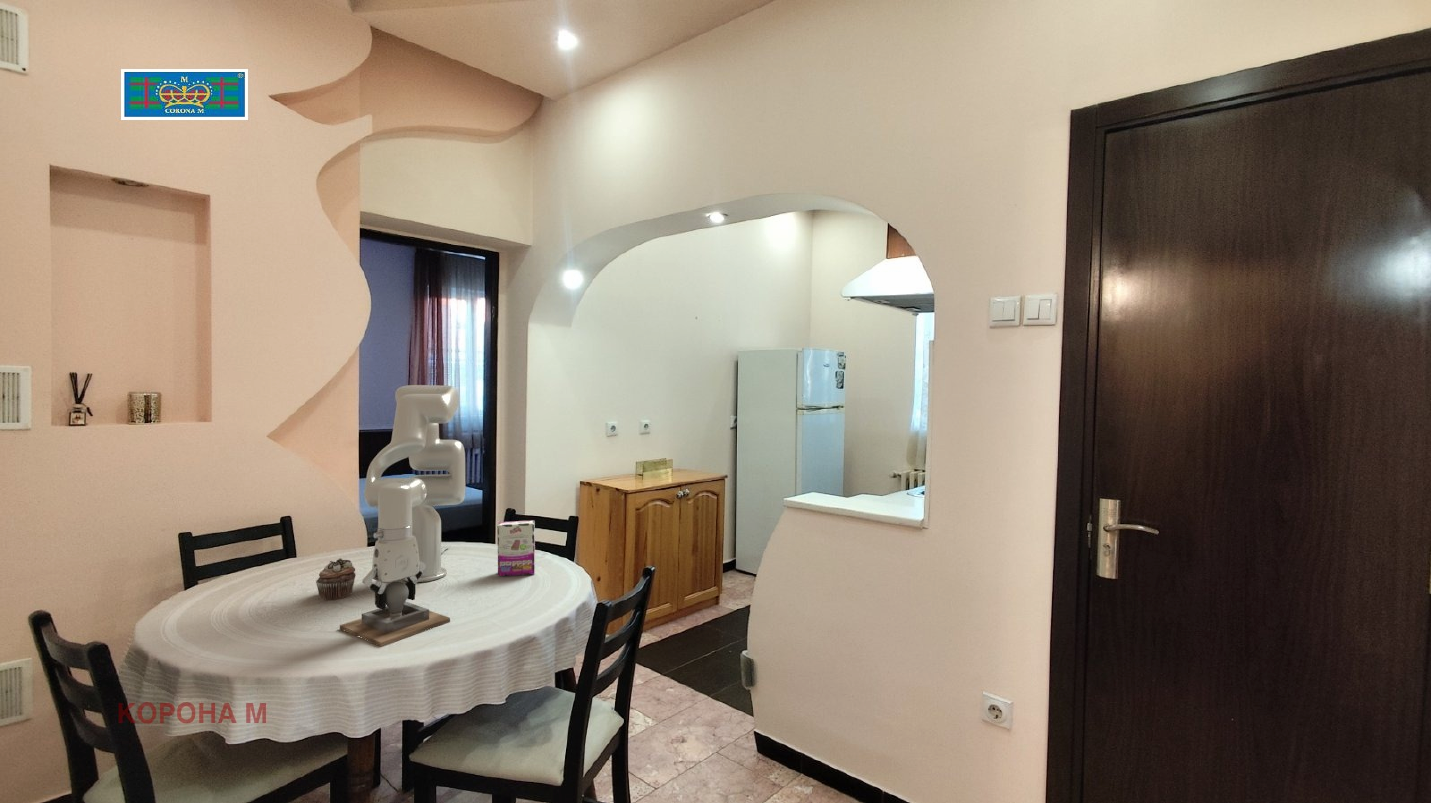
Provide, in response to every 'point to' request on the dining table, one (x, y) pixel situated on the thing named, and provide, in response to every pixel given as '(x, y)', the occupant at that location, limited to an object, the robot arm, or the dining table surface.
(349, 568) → the cupcake
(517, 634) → the dining table surface
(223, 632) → the dining table surface
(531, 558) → the candy bar box
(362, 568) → the dining table surface
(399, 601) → the light bulb
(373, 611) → the socket holder
